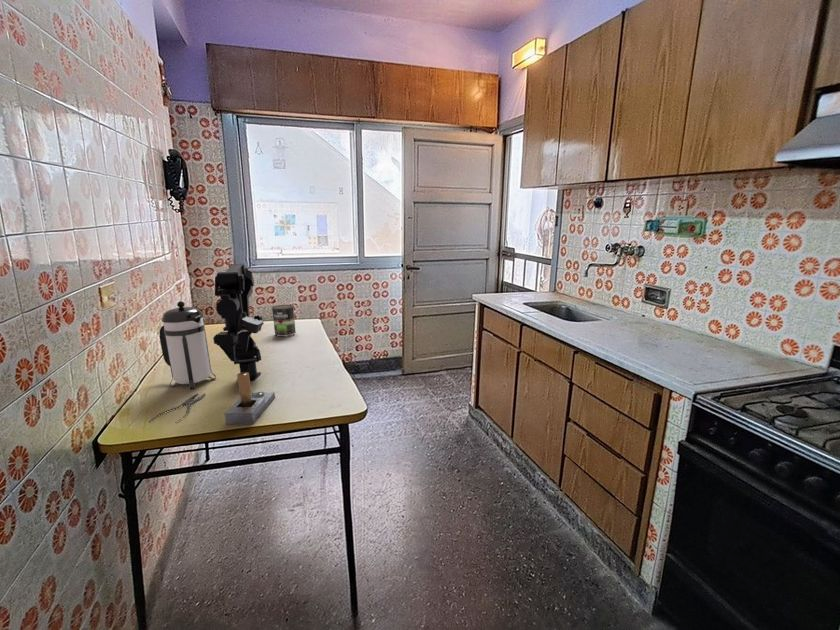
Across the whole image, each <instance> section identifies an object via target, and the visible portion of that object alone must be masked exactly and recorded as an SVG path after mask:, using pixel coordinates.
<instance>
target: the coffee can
mask: <svg viewBox="0 0 840 630" xmlns="http://www.w3.org/2000/svg"><path fill="white" fill-rule="evenodd" d="M271 310H272V318H273V319H272V320H273V326H274V327H273V328H274V329H273V330H274V336H275V335H277V336H276V337H278V336H286V337H289V336H288V335H291V336H293V335H292V334H294V333H296V334H297V331H296V321H295V309H294V305H293V304H278V305H273V306H272V307H271ZM294 335H295V334H294Z"/></svg>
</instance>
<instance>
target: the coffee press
mask: <svg viewBox="0 0 840 630" xmlns="http://www.w3.org/2000/svg"><path fill="white" fill-rule="evenodd" d="M176 306H177V307H176V308H172V309H168V310H167V311H165V312H164V313H163V315H162V317H161V319H160V320H161V322H162V323H163V325H162V326H161V327H160V329H159V332H158V333H159V334H158V335H159V341H160V347H161V353H162V357H163V360H164V362H165V363H166V364H167V366H168V367H170V371H171V377H172V379H171V380H170V382H169V386H170V387H171V386H172V385H173V387H175V385H176V384H180V385H189V390H195V389H194V388H195V384H197V383H200V382H203V381H205V380H206V379H208V378H209V379H211V380H216V379H217V375H216V374H215V373H213V371H212V366H211V359H210V353H209V347H208V346H209V345H208V340H207V334H206V328H205V327H206V326H205V323H204V319H203V318H204V313H203V312H202V311H201V309H199V308H197V307H194V306H185V302H183V301H182V300H181V301H178V302H177V304H176ZM211 375H213V376H214V377H211ZM173 381H174V382H175V383H173V384H171V383H172V382H173Z"/></svg>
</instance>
